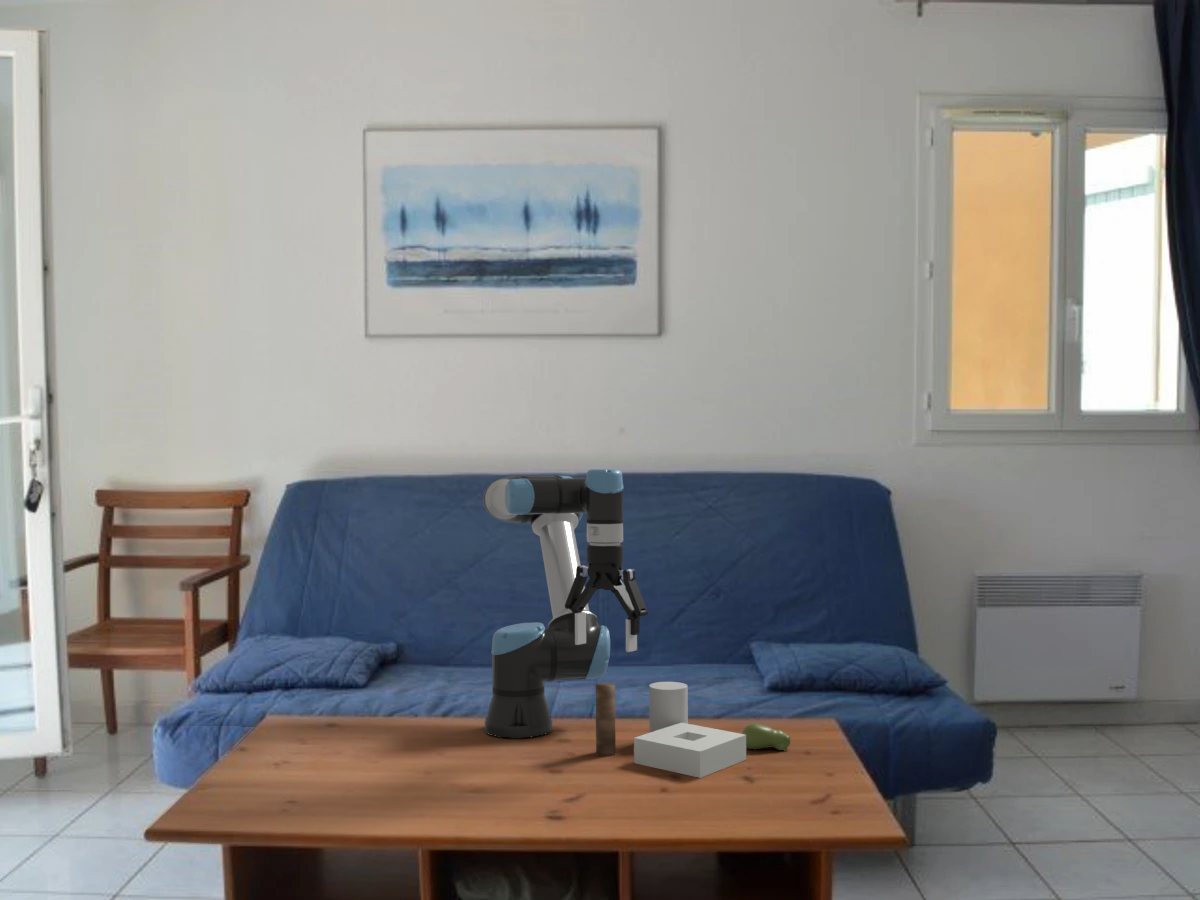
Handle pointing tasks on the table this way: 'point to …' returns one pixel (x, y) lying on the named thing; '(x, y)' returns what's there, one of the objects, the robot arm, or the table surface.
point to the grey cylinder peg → (667, 704)
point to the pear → (765, 737)
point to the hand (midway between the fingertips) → (605, 647)
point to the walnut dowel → (605, 719)
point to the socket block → (690, 749)
